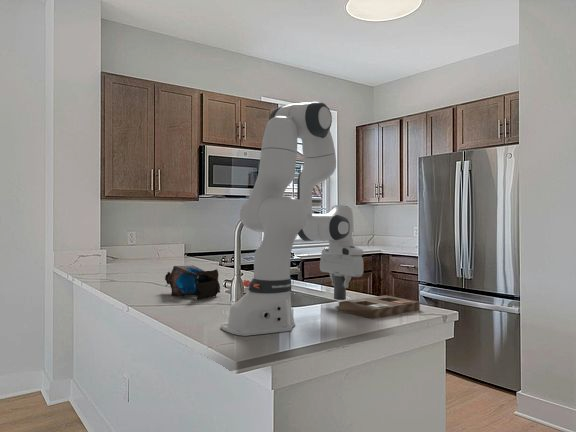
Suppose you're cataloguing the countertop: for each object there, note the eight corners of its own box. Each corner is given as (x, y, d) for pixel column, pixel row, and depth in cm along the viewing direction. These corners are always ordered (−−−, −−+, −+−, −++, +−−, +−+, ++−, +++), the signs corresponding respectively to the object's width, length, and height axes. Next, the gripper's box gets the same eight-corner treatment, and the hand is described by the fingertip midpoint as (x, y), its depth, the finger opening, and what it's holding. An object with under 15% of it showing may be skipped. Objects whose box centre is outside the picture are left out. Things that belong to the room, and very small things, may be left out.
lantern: (210, 314, 181) (166, 303, 194) (229, 280, 189) (186, 272, 202) (190, 291, 170) (145, 282, 183) (210, 257, 178) (166, 250, 192)
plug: (339, 300, 164) (340, 273, 164) (331, 298, 168) (331, 271, 168) (348, 299, 167) (349, 272, 167) (340, 297, 171) (340, 271, 171)
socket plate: (372, 319, 146) (372, 308, 146) (339, 310, 159) (339, 301, 159) (419, 310, 160) (419, 301, 160) (385, 303, 173) (385, 294, 173)
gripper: (316, 247, 174) (315, 283, 174) (354, 251, 158) (353, 290, 158) (328, 247, 178) (327, 282, 178) (366, 250, 161) (365, 289, 161)
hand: (340, 286), depth 168 cm, fingers closed on plug, 4 cm apart
